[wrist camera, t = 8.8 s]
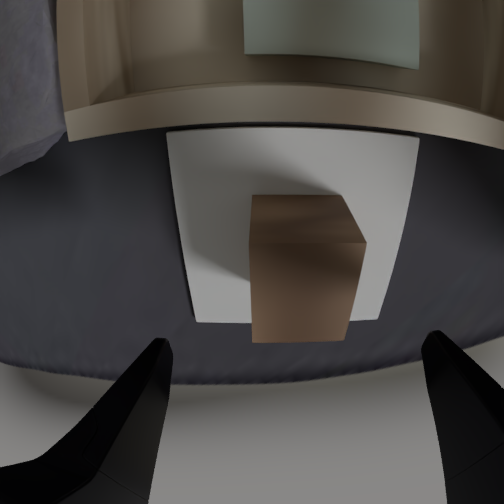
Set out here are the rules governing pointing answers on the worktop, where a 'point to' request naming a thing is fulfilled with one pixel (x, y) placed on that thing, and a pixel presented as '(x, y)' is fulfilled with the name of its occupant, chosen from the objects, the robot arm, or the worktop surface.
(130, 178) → the worktop surface
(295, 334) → the walnut block
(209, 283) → the grey mat
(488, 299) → the worktop surface
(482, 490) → the robot arm
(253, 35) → the slot box
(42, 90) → the stone block
